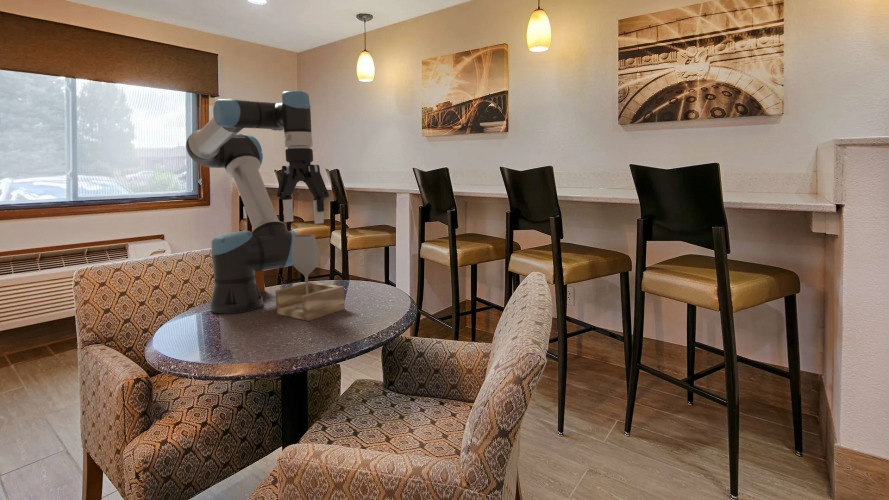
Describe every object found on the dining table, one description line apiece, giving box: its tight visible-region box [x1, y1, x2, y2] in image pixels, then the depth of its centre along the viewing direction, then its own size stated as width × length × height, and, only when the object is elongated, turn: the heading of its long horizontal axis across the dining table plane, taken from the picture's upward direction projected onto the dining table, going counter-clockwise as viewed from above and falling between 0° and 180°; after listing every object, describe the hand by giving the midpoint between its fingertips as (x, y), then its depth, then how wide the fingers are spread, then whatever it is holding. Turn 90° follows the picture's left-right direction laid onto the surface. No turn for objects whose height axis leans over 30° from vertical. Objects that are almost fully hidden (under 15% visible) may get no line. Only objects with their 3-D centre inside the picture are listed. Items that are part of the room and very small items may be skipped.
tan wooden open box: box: [274, 281, 346, 322], centre depth 150 cm, size 14×14×7 cm
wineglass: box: [292, 233, 319, 309], centre depth 147 cm, size 8×8×21 cm
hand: (303, 222), depth 146 cm, fingers open, 13 cm apart
